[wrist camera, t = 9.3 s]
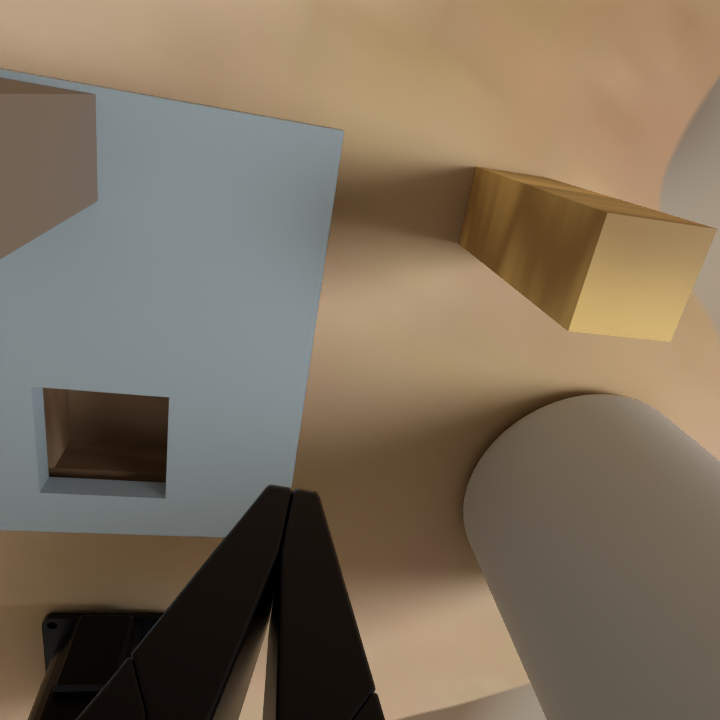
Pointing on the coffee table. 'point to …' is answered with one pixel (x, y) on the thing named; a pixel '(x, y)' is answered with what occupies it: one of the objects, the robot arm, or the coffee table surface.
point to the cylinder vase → (604, 558)
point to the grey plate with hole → (156, 294)
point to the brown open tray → (106, 435)
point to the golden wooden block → (585, 253)
